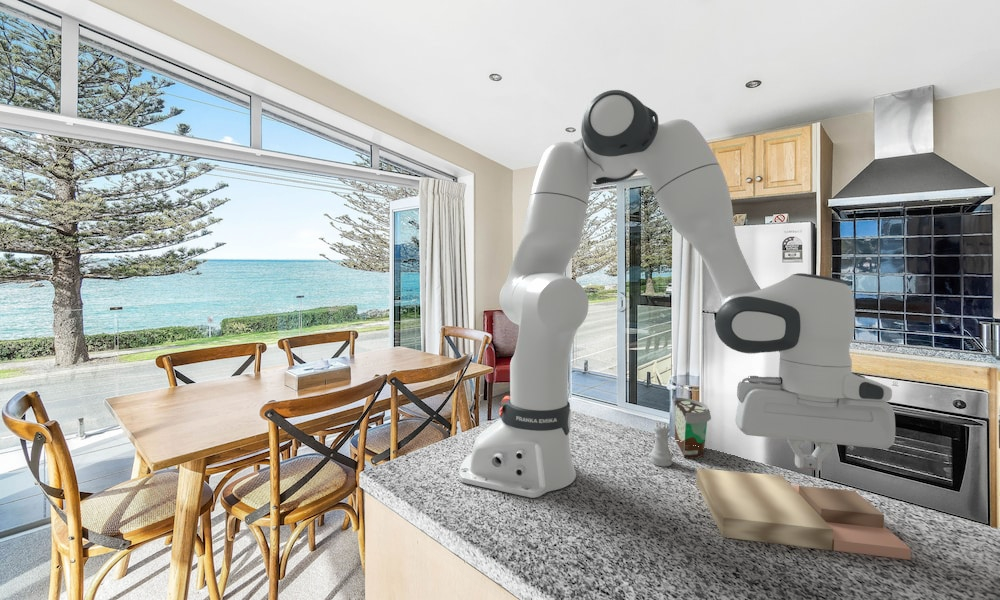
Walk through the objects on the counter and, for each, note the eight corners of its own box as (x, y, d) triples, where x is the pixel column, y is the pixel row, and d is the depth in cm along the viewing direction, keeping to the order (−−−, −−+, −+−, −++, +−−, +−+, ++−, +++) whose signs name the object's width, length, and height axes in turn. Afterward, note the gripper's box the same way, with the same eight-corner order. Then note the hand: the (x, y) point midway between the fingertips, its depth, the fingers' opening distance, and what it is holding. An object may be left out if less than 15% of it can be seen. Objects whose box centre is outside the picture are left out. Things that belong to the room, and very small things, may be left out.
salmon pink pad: (833, 550, 58) (834, 540, 58) (783, 492, 74) (783, 484, 74) (910, 559, 56) (910, 549, 56) (841, 498, 72) (842, 489, 72)
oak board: (722, 537, 61) (723, 517, 61) (696, 483, 77) (697, 468, 77) (832, 550, 58) (832, 529, 58) (781, 492, 74) (782, 475, 74)
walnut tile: (820, 521, 63) (821, 508, 63) (798, 497, 69) (798, 485, 69) (883, 528, 61) (884, 515, 61) (854, 502, 68) (854, 490, 68)
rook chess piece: (675, 468, 83) (676, 429, 83) (651, 466, 84) (652, 427, 84) (669, 458, 88) (670, 421, 87) (647, 457, 88) (648, 420, 88)
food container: (717, 463, 85) (719, 415, 85) (685, 461, 87) (686, 413, 86) (701, 440, 97) (702, 398, 97) (673, 438, 99) (674, 396, 98)
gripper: (744, 379, 64) (739, 467, 64) (906, 390, 59) (899, 486, 59) (732, 370, 70) (728, 451, 70) (877, 380, 65) (871, 467, 66)
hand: (807, 467), depth 65 cm, fingers closed
